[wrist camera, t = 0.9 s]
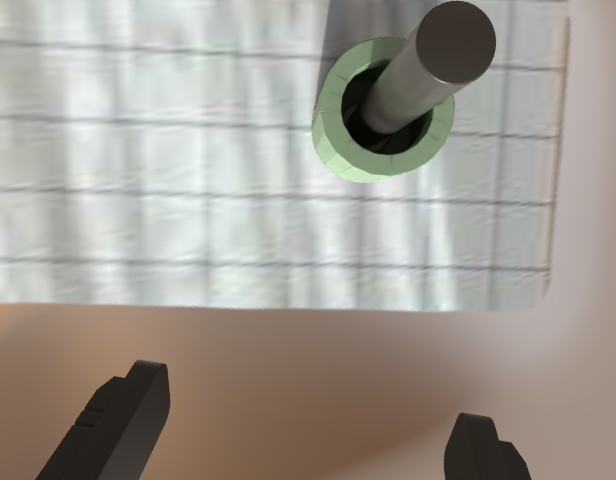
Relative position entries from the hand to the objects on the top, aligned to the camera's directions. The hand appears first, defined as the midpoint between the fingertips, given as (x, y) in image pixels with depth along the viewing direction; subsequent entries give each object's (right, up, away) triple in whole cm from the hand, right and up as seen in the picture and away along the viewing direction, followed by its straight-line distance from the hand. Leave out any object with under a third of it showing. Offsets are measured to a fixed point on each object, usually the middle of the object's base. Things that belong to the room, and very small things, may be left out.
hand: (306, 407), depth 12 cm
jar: (+4, +13, +22) cm, 26 cm away
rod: (+4, +13, +22) cm, 26 cm away
